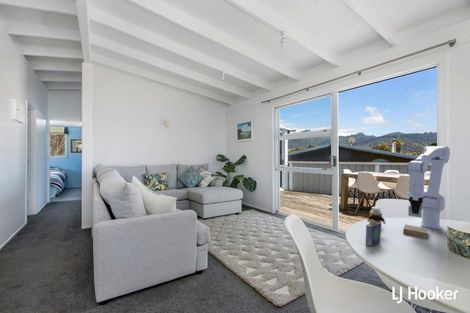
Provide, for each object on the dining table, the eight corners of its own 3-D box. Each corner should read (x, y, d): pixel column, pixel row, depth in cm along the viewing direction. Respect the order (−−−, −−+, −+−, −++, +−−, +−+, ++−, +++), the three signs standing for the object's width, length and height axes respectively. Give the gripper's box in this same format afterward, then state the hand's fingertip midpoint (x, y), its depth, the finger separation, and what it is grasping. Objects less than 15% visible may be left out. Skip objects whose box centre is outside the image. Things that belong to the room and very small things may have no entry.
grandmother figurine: (367, 233, 113) (368, 208, 113) (366, 230, 117) (367, 206, 116) (386, 235, 110) (386, 209, 110) (384, 233, 114) (385, 207, 113)
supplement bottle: (378, 228, 120) (378, 209, 120) (367, 225, 125) (367, 207, 125) (383, 226, 123) (384, 208, 123) (372, 224, 128) (373, 205, 128)
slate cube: (409, 213, 118) (409, 203, 118) (421, 215, 114) (421, 205, 114) (408, 215, 114) (408, 205, 114) (421, 217, 111) (421, 207, 110)
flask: (370, 247, 97) (370, 222, 97) (363, 244, 100) (363, 220, 99) (381, 243, 102) (382, 219, 101) (374, 240, 104) (375, 217, 104)
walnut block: (404, 229, 120) (405, 224, 120) (427, 234, 114) (427, 228, 114) (403, 234, 114) (403, 228, 113) (426, 239, 108) (427, 233, 108)
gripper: (407, 182, 122) (406, 208, 122) (405, 186, 111) (404, 213, 111) (424, 184, 117) (423, 210, 118) (424, 187, 106) (423, 216, 106)
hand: (415, 212), depth 114 cm, fingers closed on slate cube, 5 cm apart
